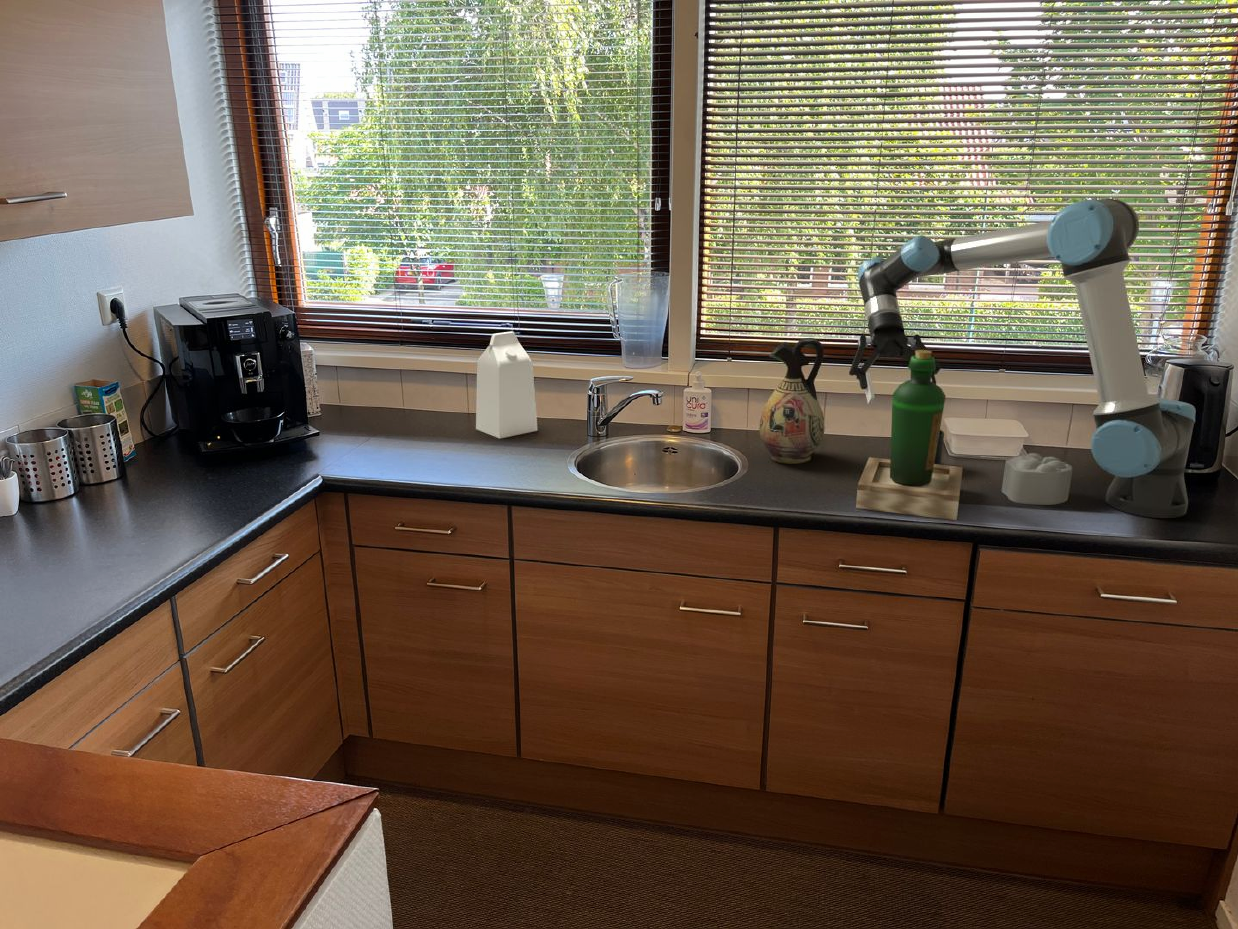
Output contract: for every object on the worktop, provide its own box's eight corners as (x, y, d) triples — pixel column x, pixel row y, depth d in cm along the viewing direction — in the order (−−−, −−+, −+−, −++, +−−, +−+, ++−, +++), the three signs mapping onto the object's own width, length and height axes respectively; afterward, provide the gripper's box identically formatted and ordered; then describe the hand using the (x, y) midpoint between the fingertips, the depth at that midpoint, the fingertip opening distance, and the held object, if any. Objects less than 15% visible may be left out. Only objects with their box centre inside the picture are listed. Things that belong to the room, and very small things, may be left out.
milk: (513, 421, 265) (510, 327, 257) (537, 430, 257) (535, 333, 249) (476, 429, 258) (471, 332, 250) (499, 438, 249) (495, 339, 241)
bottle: (947, 485, 203) (962, 354, 194) (905, 491, 199) (918, 358, 191) (915, 470, 213) (928, 345, 204) (874, 476, 209) (885, 348, 200)
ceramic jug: (754, 466, 228) (760, 340, 219) (761, 447, 242) (767, 329, 233) (827, 471, 224) (837, 344, 215) (830, 452, 239) (839, 332, 229)
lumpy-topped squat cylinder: (997, 487, 214) (1002, 450, 211) (1057, 489, 214) (1063, 451, 211) (1013, 504, 204) (1019, 465, 202) (1076, 505, 204) (1082, 466, 201)
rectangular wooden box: (959, 489, 213) (962, 467, 211) (956, 520, 195) (959, 496, 193) (867, 478, 219) (869, 457, 218) (855, 507, 202) (857, 484, 200)
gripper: (931, 328, 224) (950, 408, 214) (826, 330, 222) (841, 409, 212) (943, 309, 217) (963, 390, 208) (835, 310, 215) (850, 392, 206)
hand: (901, 400), depth 210 cm, fingers open, 13 cm apart
